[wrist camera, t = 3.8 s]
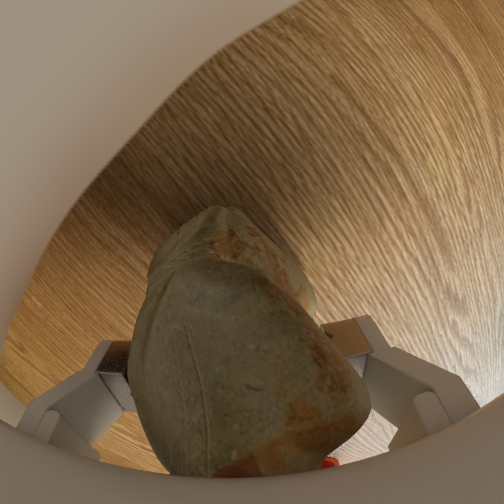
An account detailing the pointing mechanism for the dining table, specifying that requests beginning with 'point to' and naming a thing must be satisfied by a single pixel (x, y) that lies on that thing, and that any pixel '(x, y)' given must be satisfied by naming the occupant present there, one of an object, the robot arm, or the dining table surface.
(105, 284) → the dining table surface
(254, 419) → the sculpture
